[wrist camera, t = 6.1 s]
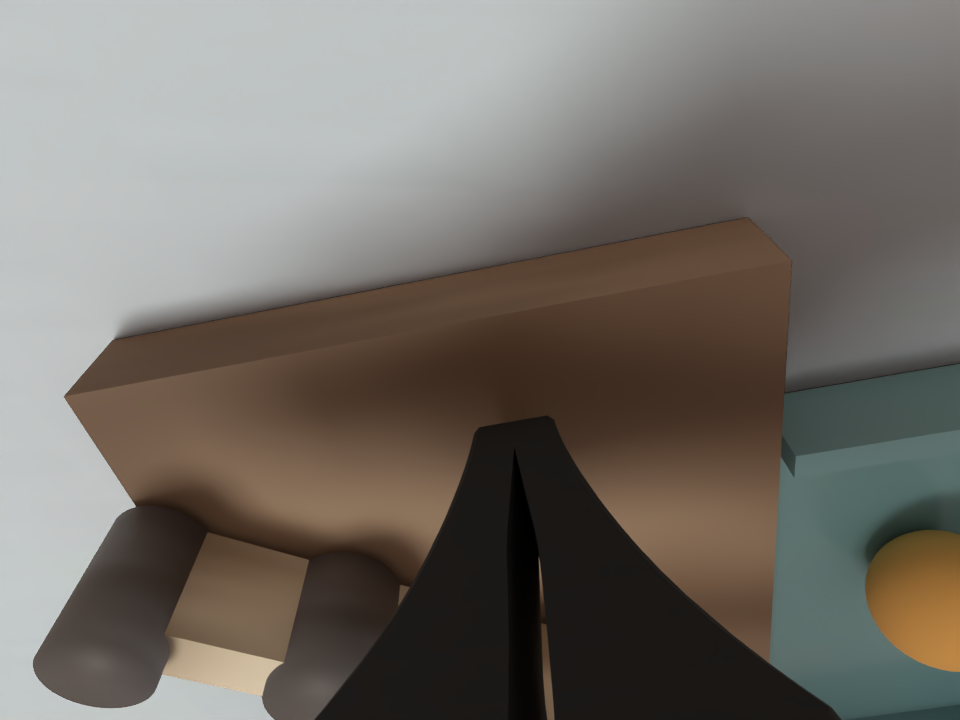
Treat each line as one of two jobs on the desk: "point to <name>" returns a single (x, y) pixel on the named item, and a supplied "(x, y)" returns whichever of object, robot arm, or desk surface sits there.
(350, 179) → the desk surface
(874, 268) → the desk surface
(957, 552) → the ball
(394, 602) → the lever
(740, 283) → the board
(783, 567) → the teal shallow crate
